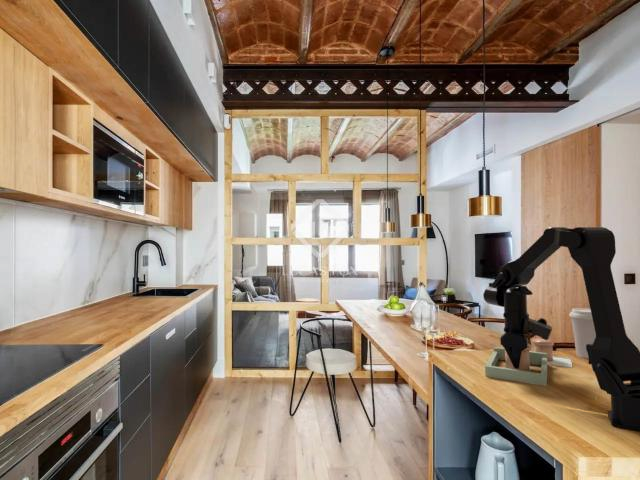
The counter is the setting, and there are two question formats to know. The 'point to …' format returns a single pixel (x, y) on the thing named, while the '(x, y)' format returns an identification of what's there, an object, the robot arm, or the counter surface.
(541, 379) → the green shallow rectangular frame
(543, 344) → the pot
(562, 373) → the counter surface
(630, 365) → the robot arm
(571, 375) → the counter surface
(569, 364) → the white square board
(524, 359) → the pot
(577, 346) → the coffee cup
